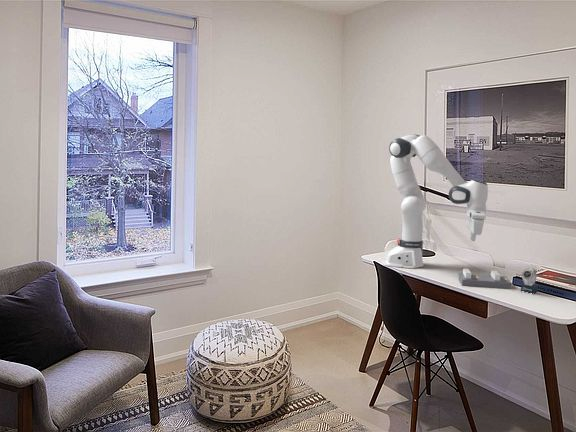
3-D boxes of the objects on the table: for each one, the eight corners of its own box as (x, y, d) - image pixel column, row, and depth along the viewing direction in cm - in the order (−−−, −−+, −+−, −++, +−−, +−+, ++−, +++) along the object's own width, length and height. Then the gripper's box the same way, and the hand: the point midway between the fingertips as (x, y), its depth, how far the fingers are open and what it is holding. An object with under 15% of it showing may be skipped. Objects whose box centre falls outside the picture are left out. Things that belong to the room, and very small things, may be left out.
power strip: (462, 285, 234) (462, 279, 234) (458, 279, 246) (458, 273, 245) (511, 288, 230) (511, 282, 230) (504, 282, 242) (505, 276, 241)
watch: (518, 291, 226) (520, 268, 224) (527, 289, 231) (529, 266, 229) (530, 294, 221) (532, 271, 220) (539, 291, 226) (541, 268, 225)
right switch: (494, 280, 233) (495, 274, 232) (490, 275, 241) (491, 270, 241) (500, 280, 232) (500, 275, 232) (495, 276, 241) (496, 270, 240)
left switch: (465, 278, 235) (466, 273, 235) (462, 273, 244) (463, 268, 243) (471, 278, 234) (471, 273, 234) (467, 274, 243) (468, 268, 243)
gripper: (466, 209, 252) (463, 235, 254) (472, 215, 232) (469, 243, 234) (478, 210, 251) (475, 237, 253) (486, 216, 231) (483, 245, 233)
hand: (472, 240), depth 243 cm, fingers closed
